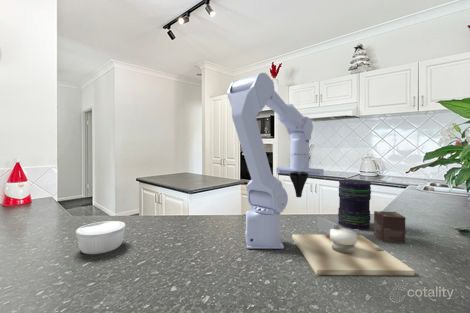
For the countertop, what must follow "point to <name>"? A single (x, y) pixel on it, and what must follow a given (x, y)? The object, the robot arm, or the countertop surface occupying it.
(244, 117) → the robot arm
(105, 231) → the ramekin
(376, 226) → the box
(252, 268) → the countertop surface
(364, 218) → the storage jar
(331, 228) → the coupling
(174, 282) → the countertop surface
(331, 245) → the post board
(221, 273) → the countertop surface
